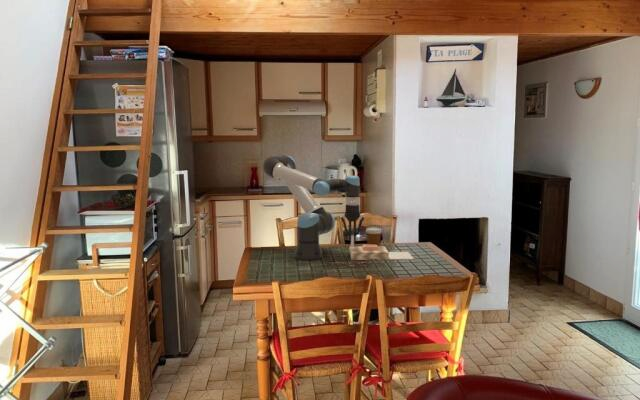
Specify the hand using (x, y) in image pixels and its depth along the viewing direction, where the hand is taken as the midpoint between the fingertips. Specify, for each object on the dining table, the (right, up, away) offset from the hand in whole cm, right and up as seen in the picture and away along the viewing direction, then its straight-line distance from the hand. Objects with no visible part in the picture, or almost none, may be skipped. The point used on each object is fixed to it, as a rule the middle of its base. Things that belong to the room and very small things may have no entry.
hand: (352, 246), depth 264 cm
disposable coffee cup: (+14, -3, +18) cm, 23 cm away
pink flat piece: (+10, -1, 0) cm, 10 cm away
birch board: (+9, -5, +1) cm, 10 cm away
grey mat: (+26, -5, +1) cm, 26 cm away
